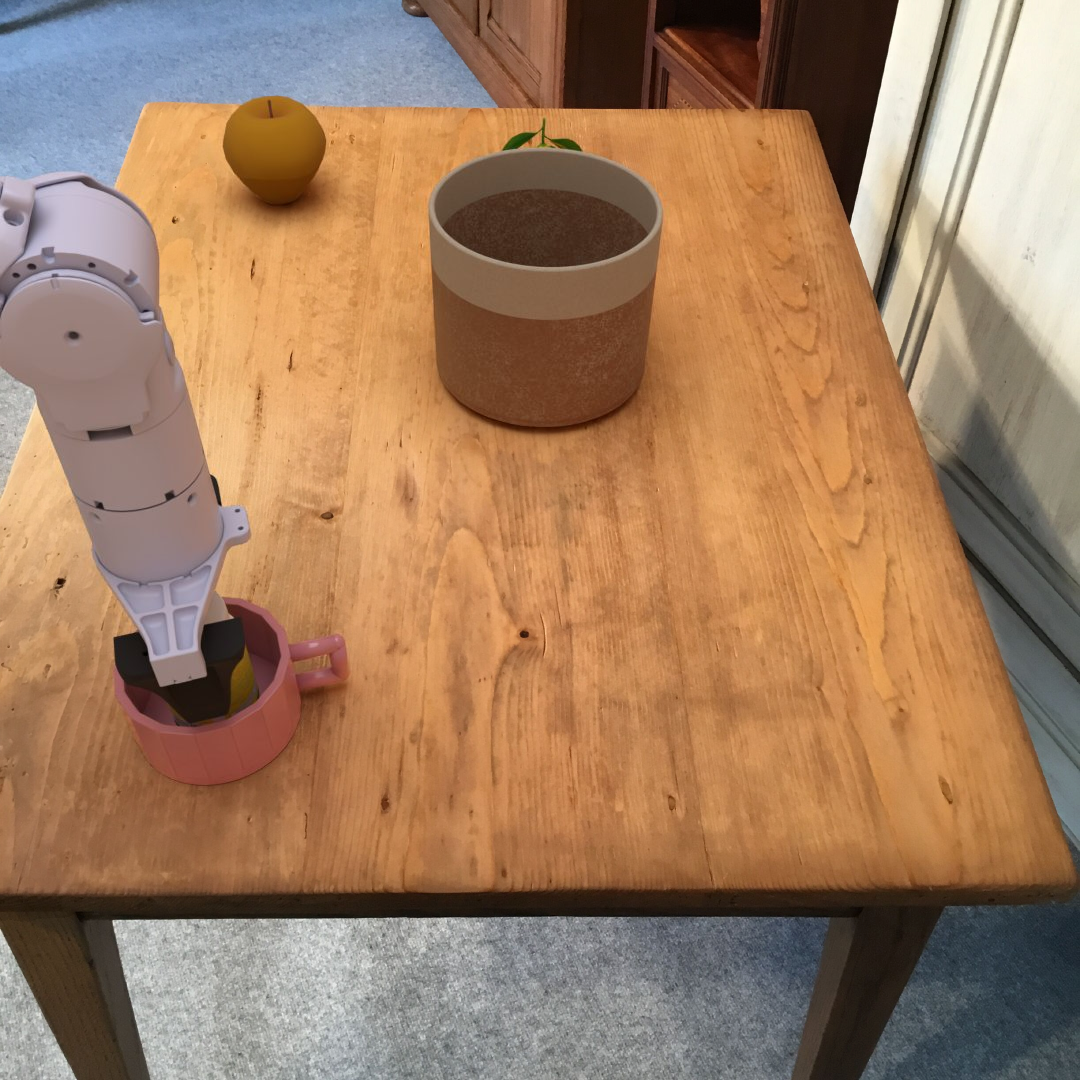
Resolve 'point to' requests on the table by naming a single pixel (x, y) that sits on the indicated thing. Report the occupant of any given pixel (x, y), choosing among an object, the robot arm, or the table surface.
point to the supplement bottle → (242, 677)
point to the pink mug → (253, 730)
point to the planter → (543, 283)
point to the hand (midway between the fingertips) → (199, 654)
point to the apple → (274, 147)
